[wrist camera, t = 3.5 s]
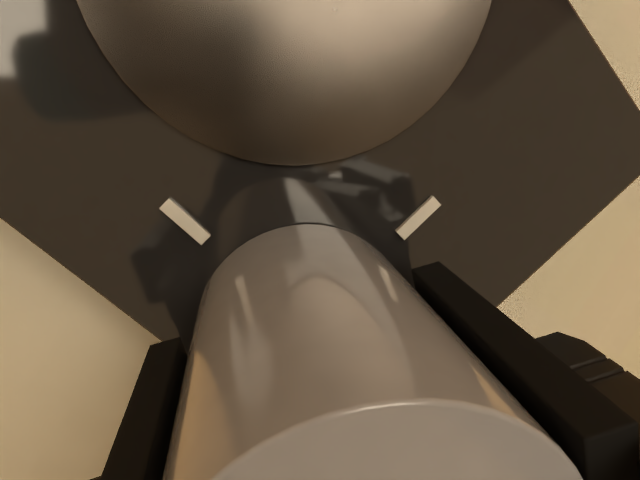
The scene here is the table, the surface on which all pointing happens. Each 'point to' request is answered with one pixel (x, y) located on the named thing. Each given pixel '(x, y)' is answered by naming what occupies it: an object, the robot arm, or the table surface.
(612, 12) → the table surface
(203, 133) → the burner
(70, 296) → the table surface
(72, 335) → the table surface
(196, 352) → the knob
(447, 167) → the hob
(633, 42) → the table surface
